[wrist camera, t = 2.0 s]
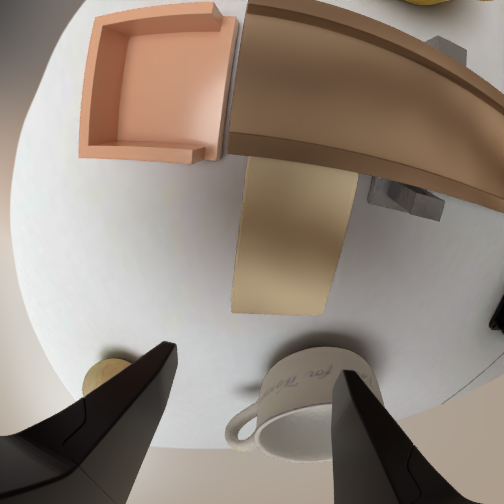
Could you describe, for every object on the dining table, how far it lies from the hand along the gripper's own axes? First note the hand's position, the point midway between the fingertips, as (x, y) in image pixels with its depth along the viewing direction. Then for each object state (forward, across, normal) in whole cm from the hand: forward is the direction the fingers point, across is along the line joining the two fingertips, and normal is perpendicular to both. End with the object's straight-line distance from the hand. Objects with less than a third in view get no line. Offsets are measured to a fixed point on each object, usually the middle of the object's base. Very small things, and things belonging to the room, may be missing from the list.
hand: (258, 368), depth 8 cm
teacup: (+13, -5, +14) cm, 20 cm away
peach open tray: (+13, +8, -9) cm, 18 cm away
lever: (+9, -8, -5) cm, 13 cm away
